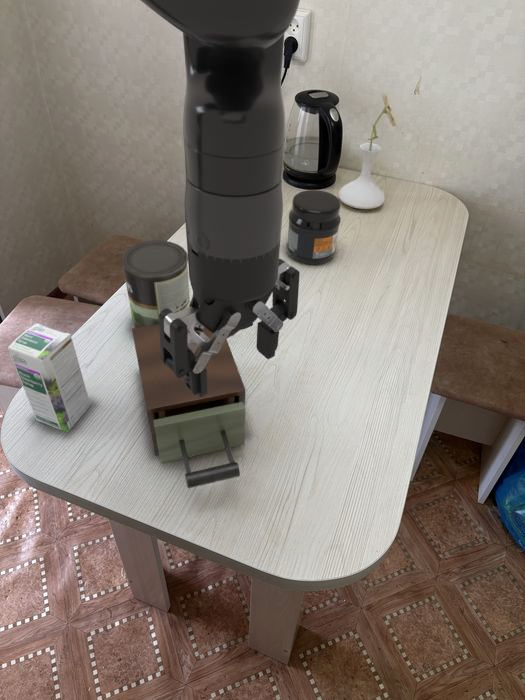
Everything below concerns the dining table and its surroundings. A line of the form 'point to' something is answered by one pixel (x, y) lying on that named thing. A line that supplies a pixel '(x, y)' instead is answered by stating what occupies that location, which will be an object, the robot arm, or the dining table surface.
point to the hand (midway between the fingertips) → (233, 371)
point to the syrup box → (50, 376)
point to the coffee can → (155, 280)
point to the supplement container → (313, 226)
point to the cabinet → (171, 390)
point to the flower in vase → (367, 173)
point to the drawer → (202, 437)
